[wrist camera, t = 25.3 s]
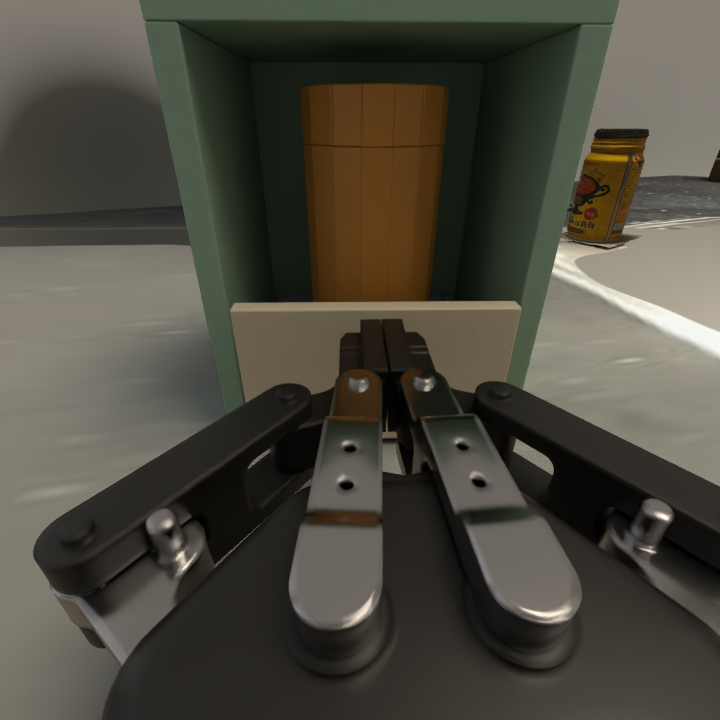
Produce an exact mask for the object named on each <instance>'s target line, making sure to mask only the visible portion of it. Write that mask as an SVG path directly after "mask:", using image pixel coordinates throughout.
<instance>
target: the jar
mask: <svg viewBox="0 0 720 720" xmlns="http://www.w3.org/2000/svg"><path fill="white" fill-rule="evenodd" d="M300 95H301V111H302V128H303V142H304V143H305V144H304V161H305V178H306V194H307V211H308V227H309V244H310V261H311V277H312V294H313V302H429V300H430V290H431V279H432V269H433V258H434V248H435V237H436V227H437V216H438V206H439V195H440V185H441V174H442V164H443V153H444V144H443V143H444V142H445V131H446V121H447V110H448V100H449V88H448V87H445V86H440V85H428V84H405V83H395V84H394V83H343V84H321V85H309V86H304V87H300Z"/></svg>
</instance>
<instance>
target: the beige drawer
mask: <svg viewBox="0 0 720 720" xmlns="http://www.w3.org/2000/svg"><path fill="white" fill-rule="evenodd" d="M521 310H522V309H521V307H520V306H519V305H518V304H517V302H516V301H454V299H453V297H452V295H451V294H430V300H429V302H313V295H280V297H279V299H278V302H277V303H234V305H233V306H232V308H231V309H230V316H231V321H232V327H233V333H234V339H235V344H236V350H237V356H238V362H239V367H240V373H241V379H242V385H243V390H244V396H245V402H246V403H247V402H248V401H250V400H252V399H253V398H255V397H257V396H258V395H260V394H262V393H263V392H265V391H266V390H268V389H270V388H272V387H274V386H276V385H280V384H285V383H295V384H300V385H303V386H305V387H307V388H308V389H309V390H310V392H311V395H312V394H317V393H321V392H324V391H327V390H329V389H331V388H332V387H333V386H335V381H336V378H337V377H338V376H339V355H340V339H341V338H342V337H343V336H344V334H345V333H357V332H360V319H380V321H381V320H382V319H402V321H403V325H404V329H405V332H417V333H418V334H420V335H421V336H422V337H423V338H424V339H425V341H426V344H427V348H428V350H429V354H430V356H431V359H432V361H433V364H434V367H435V370H436V372H438V373H440V374H442V375H443V376H444V377H445V378H446V380H447V382H448V384H449V386H450V387H451V388H453V389H456V390H460V391H465V392H471V393H475V389H476V387H477V386H478V385H479V384H481V383H483V382H487V381H500V382H506V378H507V373H508V369H509V364H510V360H511V355H512V351H513V346H514V342H515V337H516V333H517V328H518V324H519V319H520V314H521ZM382 438H397V434H396V432H388V428H387V420H386V432H382Z"/></svg>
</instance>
